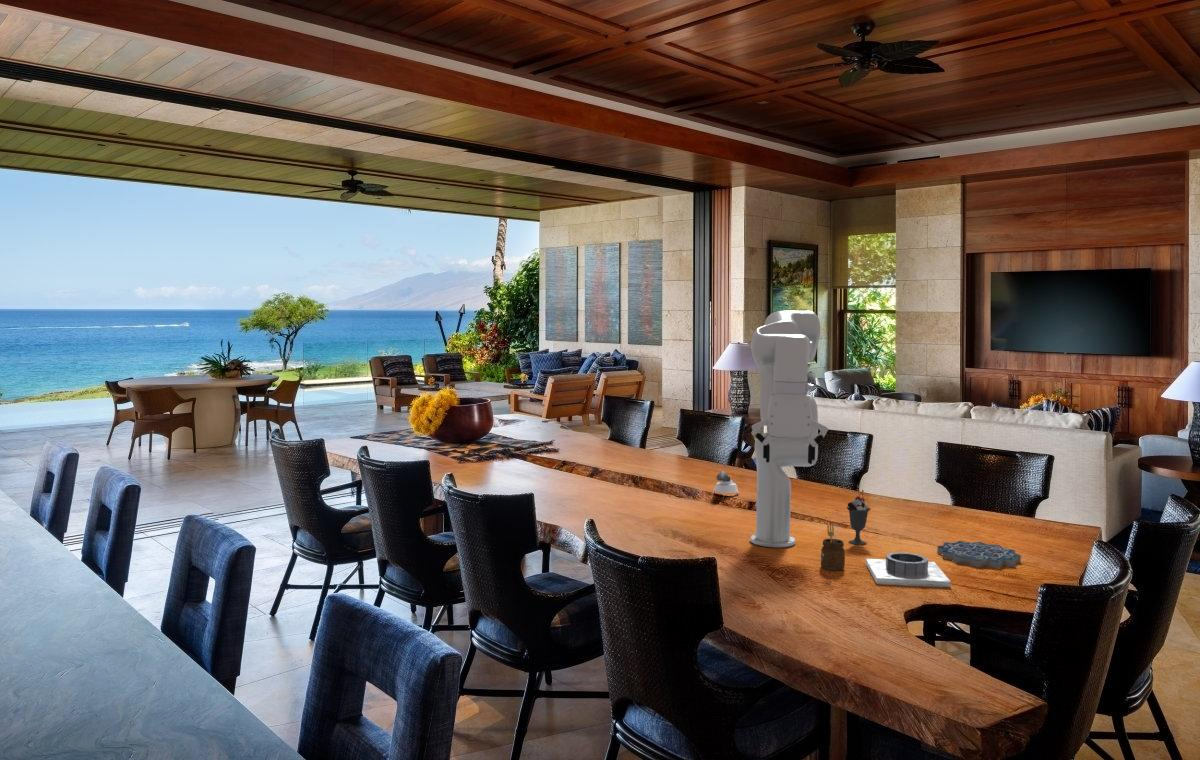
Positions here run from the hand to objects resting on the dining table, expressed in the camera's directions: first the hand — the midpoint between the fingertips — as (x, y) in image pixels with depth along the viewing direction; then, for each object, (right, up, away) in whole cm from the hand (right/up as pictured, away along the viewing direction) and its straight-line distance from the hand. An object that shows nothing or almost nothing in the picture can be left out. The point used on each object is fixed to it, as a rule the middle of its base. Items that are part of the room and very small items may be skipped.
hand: (788, 462), depth 198 cm
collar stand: (+33, -30, +14) cm, 46 cm away
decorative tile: (+58, -29, +31) cm, 72 cm away
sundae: (+30, -28, +45) cm, 61 cm away
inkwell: (+1, -23, +108) cm, 111 cm away
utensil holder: (+16, -29, +20) cm, 39 cm away
